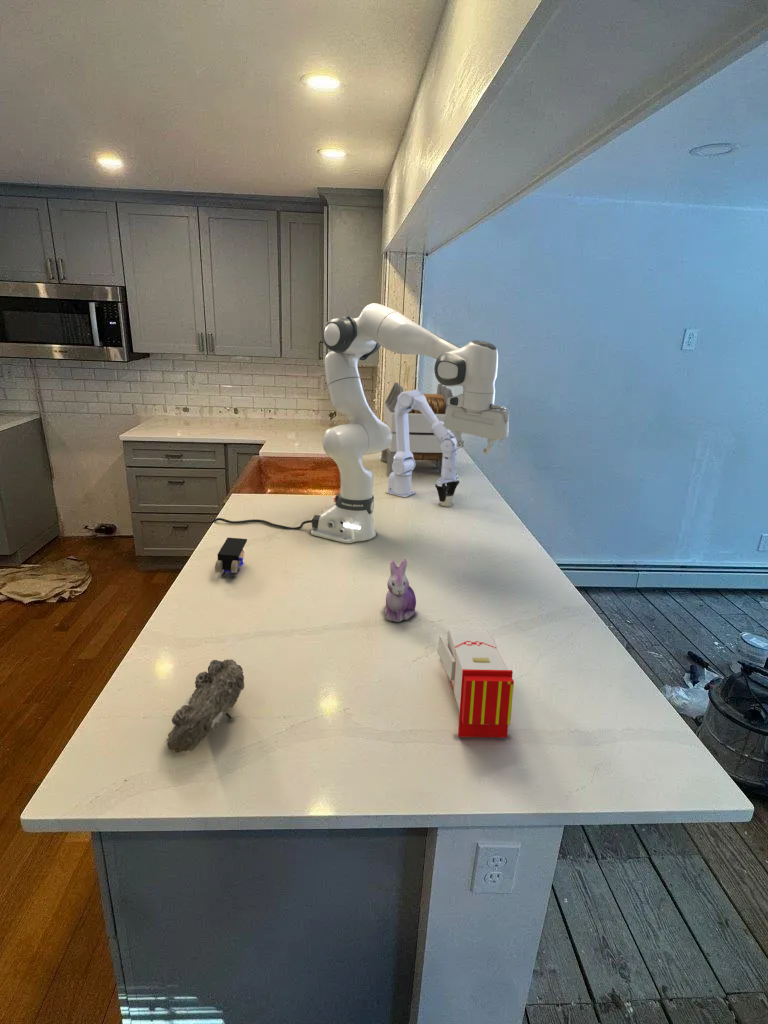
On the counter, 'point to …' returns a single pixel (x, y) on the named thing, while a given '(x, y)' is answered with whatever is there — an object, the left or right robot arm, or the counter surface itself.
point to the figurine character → (230, 556)
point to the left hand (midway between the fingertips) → (473, 450)
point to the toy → (478, 682)
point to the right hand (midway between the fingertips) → (446, 499)
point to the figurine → (399, 594)
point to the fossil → (206, 705)
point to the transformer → (417, 427)
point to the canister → (447, 500)
